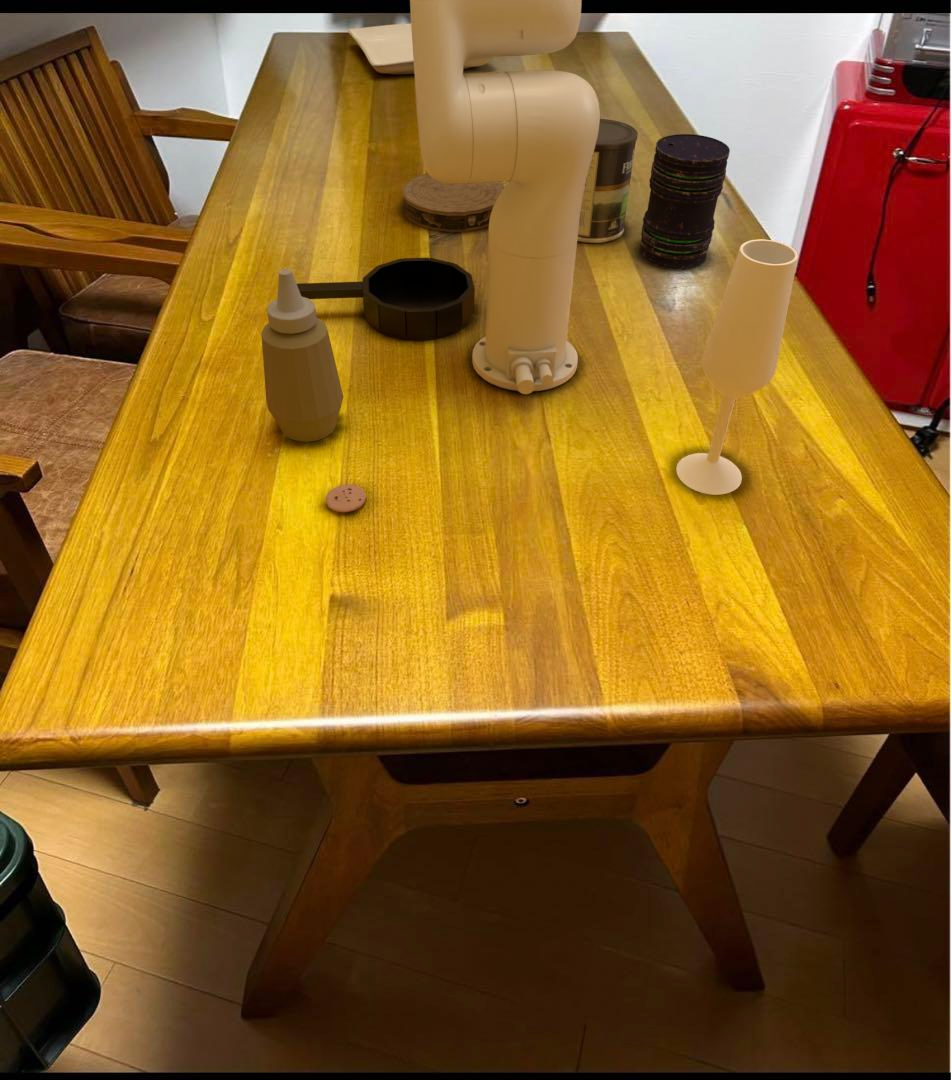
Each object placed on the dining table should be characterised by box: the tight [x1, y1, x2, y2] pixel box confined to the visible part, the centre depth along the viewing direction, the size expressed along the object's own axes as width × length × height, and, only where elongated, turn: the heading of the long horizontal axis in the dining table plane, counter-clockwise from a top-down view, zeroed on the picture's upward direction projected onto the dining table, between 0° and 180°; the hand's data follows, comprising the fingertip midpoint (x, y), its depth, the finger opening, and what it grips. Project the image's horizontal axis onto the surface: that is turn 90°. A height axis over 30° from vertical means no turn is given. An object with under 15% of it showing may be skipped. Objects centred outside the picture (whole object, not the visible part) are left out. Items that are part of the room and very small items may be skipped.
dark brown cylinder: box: [638, 133, 731, 271], centre depth 117 cm, size 10×10×15 cm
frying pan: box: [296, 257, 475, 341], centre depth 108 cm, size 14×24×4 cm, turn 96°
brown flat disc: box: [402, 172, 505, 233], centre depth 131 cm, size 16×16×3 cm
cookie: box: [325, 483, 367, 513], centre depth 83 cm, size 4×4×1 cm
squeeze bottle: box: [260, 268, 344, 443], centre depth 85 cm, size 8×8×18 cm
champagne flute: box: [675, 238, 799, 496], centre depth 79 cm, size 7×7×24 cm
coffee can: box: [577, 118, 639, 244], centre depth 123 cm, size 10×10×14 cm
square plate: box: [347, 22, 495, 76], centre depth 187 cm, size 27×27×4 cm
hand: (447, 117), depth 134 cm, fingers closed
